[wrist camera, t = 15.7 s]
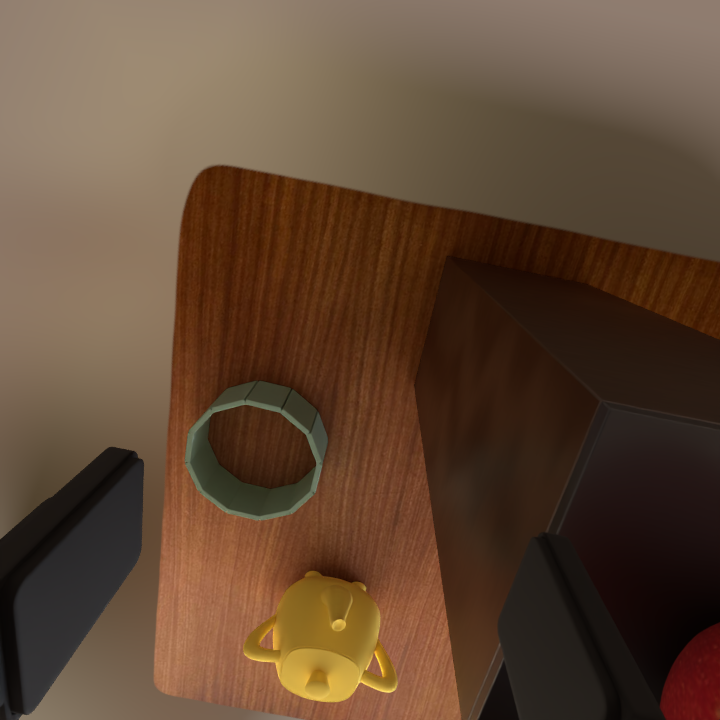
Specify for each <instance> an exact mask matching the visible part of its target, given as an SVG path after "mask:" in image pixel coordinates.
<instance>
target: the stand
mask: <svg viewBox="0 0 720 720" xmlns="http://www.w3.org/2000/svg"><path fill="white" fill-rule="evenodd" d="M414 388H415V395H416V402H417V409H418V416H419V423H420V430H421V437H422V444H423V451H424V458H425V465H426V472H427V479H428V486H429V493H430V500H431V507H432V514H433V521H434V528H435V535H436V542H437V549H438V556H439V563H440V571H441V578H442V585H443V592H444V599H445V606H446V613H447V620H448V627H449V634H450V641H451V648H452V655H453V662H454V669H455V676H456V683H457V690H458V697H459V704H460V711H461V718H462V720H519V716H518V712H517V708H516V704H515V700H514V696H513V692H512V688H511V684H510V680H509V676H508V672H507V669H506V665H505V661H504V657H503V653H502V649H501V645H500V641H499V637H498V630H497V625H498V619H499V616H500V613H501V611H502V608H503V606H504V603H505V601H506V598H507V596H508V593H509V591H510V588H511V586H512V583H513V581H514V578H515V576H516V573H517V571H518V568H519V566H520V563H521V561H522V558H523V556H524V553H525V551H526V548H527V546H528V544H529V541H530V539H531V538H532V537H538V535H539V534H540V533H541V532H546V533H551V534H556V535H561V536H566V537H568V538H569V540H570V541H571V543H572V545H573V546H574V548H575V550H576V552H577V554H578V556H579V558H580V560H581V561H582V563H583V565H584V567H585V569H586V571H587V573H588V574H589V576H590V578H591V580H592V582H593V584H594V586H595V587H596V589H597V591H598V593H599V595H600V597H601V599H602V601H603V602H604V604H605V606H606V608H607V610H608V612H609V614H610V615H611V617H612V619H613V621H614V623H615V625H616V627H617V629H618V630H619V632H620V634H621V636H622V638H623V640H624V642H625V643H626V645H627V647H628V649H629V651H630V653H631V655H632V656H633V658H634V660H635V662H636V664H637V666H638V668H639V670H640V671H641V673H642V675H643V677H644V679H645V681H646V683H647V684H648V686H649V688H650V690H651V692H652V694H653V696H654V697H655V699H656V701H657V703H658V705H659V707H660V702H661V696H662V691H663V688H664V685H665V682H666V679H667V676H668V674H669V672H670V669H671V667H672V665H673V663H674V662H675V660H676V658H677V657H678V655H679V654H680V653H681V651H682V650H683V649H684V648H685V646H686V645H687V644H688V643H689V642H690V641H691V640H692V639H693V638H694V637H695V636H696V635H697V634H698V633H700V632H701V631H703V630H704V629H706V628H708V627H710V626H712V625H715V624H717V623H719V622H720V340H718V339H716V338H714V337H711V336H709V335H707V334H704V333H702V332H699V331H697V330H695V329H692V328H690V327H688V326H685V325H683V324H680V323H678V322H676V321H673V320H671V319H669V318H666V317H664V316H661V315H659V314H657V313H654V312H652V311H650V310H647V309H645V308H642V307H640V306H638V305H635V304H633V303H631V302H628V301H626V300H624V299H621V298H619V297H616V296H614V295H612V294H609V293H607V292H605V291H602V290H600V289H597V288H595V287H593V286H590V285H588V284H584V283H579V282H574V281H569V280H564V279H559V278H554V277H549V276H544V275H540V274H535V273H530V272H525V271H520V270H515V269H510V268H505V267H500V266H495V265H490V264H485V263H480V262H476V261H471V260H466V259H461V258H456V257H451V256H447V258H446V262H445V266H444V270H443V274H442V277H441V281H440V285H439V289H438V293H437V297H436V301H435V305H434V309H433V313H432V317H431V321H430V325H429V329H428V333H427V337H426V341H425V344H424V348H423V352H422V356H421V360H420V364H419V368H418V372H417V376H416V380H415V384H414Z"/></svg>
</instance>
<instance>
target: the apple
mask: <svg viewBox="0 0 720 720" xmlns="http://www.w3.org/2000/svg"><path fill="white" fill-rule="evenodd" d="M660 709H661V711H662V712H663V714H664V716H665V718H666V720H720V622H719V623H717V624H715V625H712V626H710V627H708V628H706V629H704V630H703V631H701V632H700V633H698V634H697V635H696V636H695V637H694V638H693V639H692V640H691V641H690V642H689V643H688V644H687V645H686V646H685V648H684V649H683V650H682V651H681V653H680V654H679V655H678V657H677V658H676V660H675V662H674V663H673V665H672V667H671V669H670V672H669V674H668V676H667V679H666V682H665V685H664V688H663V691H662V696H661V702H660Z"/></svg>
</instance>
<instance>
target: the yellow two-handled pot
mask: <svg viewBox="0 0 720 720" xmlns="http://www.w3.org/2000/svg"><path fill="white" fill-rule="evenodd" d="M273 627H274V629H273V649H266V648H263V647H261V646H260V642H261V641H262V639H263V638H264V636H265V635H266V634H267V633H268V632H269V631H270V630H271V629H272V628H273ZM379 628H380V612H379V609H378V606H377V604H376V603H375V601H374V600H373V599H372V597H371V596H370V595H369V594H368V593H367V592H366V587H365V585H364V584H363V583H361V582H352V583H350V582H347V581H345V580H342V579H338V578H333V577H323V576H322V575H321V574H320V573H319V572H317V571H309V572H307V573H306V574H305V578H303V579H301V580H299V581H297V582H295V583H294V584H293V585H291V586H290V587H289V588H288V589H287V590H286V591H285V593H284V594H283V596H282V598H281V600H280V602H279V604H278V607H277V610H276V614H275V615H274V616H272V617H271V618H269V619H268V620H266V621H265V622H264V623H262V624H261V625H260V626H258V627H257V628H256V629H255V630H254V631H253V632H252V633H251V634H250V635H249V636H248V638H247V639H246V641H245V643H244V646H243V652H244V654H245V655H246V656H247V657H248V658H250V659H253V660H257V661H263V662H275V664H276V668H277V672H278V676H279V678H280V681H281V683H282V685H283V686H284V687H285V688H286V689H287V690H289V691H290V692H292V693H294V694H296V695H299V696H301V697H304V698H307V699H311V700H315V701H322V702H339V701H343V700H345V699H347V698H349V697H350V696H351V695H352V693H353V692H354V691H355V689H356V687H357V686H358V684H359V682H362V683H364V684H366V685H368V686H370V687H372V688H374V689H376V690H379V691H382V692H392V691H394V690H395V689H396V687H397V684H398V681H397V674H396V671H395V668H394V666H393V663H392V662H391V660H390V658H389V656H388V654H387V652H386V651H385V649H384V647H383V646H382V644H381V643H380V641H379V639H378V634H379ZM374 653H375V655H376V657H377V659H378V662H379V664H380V667H381V670H382V675H383V677H381V676H377V675H375V674H373V673H371V672H369V671H367V668H368V666H369V664H370V662H371V659H372V657H373V654H374Z"/></svg>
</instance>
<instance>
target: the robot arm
mask: <svg viewBox="0 0 720 720" xmlns="http://www.w3.org/2000/svg"><path fill="white" fill-rule="evenodd" d="M143 476H144V462H143V460H142V459H139V458H138V455H137V453H136V452H135V451H131V450H126V449H120V448H116V447H109V448H107V449H106V450H105V451H104V452H102V453H101V454H100V455H99V456H98V457H97V458H96V459H95V460H93V461H92V462H91V463H90V464H89V465H88V466H87V467H85V468H84V469H83V470H82V471H81V472H80V473H79V474H78V475H76V476H75V477H74V478H73V479H72V480H71V481H70V482H69V483H67V484H66V485H65V486H64V487H63V488H62V489H61V490H59V491H58V492H57V493H56V494H55V495H54V496H53V497H51V498H48V499H47V500H45V501H44V502H43V503H41V504H40V505H39V506H38V507H37V508H36V509H34V510H33V511H32V512H31V513H30V514H29V515H28V516H26V517H25V518H24V519H23V520H22V521H21V522H20V523H19V524H17V525H16V526H15V527H14V528H13V529H12V530H11V531H9V532H8V533H7V534H6V535H5V536H4V537H3V538H1V539H0V720H19V718H20V717H21V715H22V714H24V715H29V714H30V713H31V712H33V711H34V710H35V708H36V707H37V706H38V704H39V703H40V702H41V700H42V699H43V697H44V696H45V694H46V693H47V691H48V690H49V689H50V687H51V686H52V684H53V683H54V681H55V680H56V678H57V677H58V675H59V674H60V673H61V671H62V670H63V668H64V667H65V665H66V664H67V663H68V661H69V660H70V658H71V657H72V655H73V654H74V652H75V651H76V649H77V648H78V647H79V645H80V644H81V642H82V641H83V639H84V638H85V637H86V635H87V634H88V632H89V631H90V629H91V628H92V626H93V625H94V624H95V622H96V620H97V619H98V618H99V616H100V615H101V613H102V612H103V611H104V609H105V607H106V606H107V605H108V603H109V602H110V600H111V599H112V598H113V596H114V595H115V593H116V592H117V590H118V589H119V587H120V586H121V585H122V583H123V582H124V580H125V579H126V577H127V576H128V574H129V573H130V572H131V570H132V569H133V567H134V566H135V564H136V563H137V561H138V558H139V556H140V552H141V546H142V512H143ZM497 630H498V637H499V641H500V645H501V649H502V653H503V657H504V661H505V665H506V669H507V672H508V676H509V680H510V684H511V688H512V692H513V696H514V700H515V704H516V708H517V712H518V716H519V720H666V718H665V716H664V714H663V712H662V711H661V709H660V707H659V705H658V703H657V701H656V699H655V697H654V696H653V694H652V692H651V690H650V688H649V686H648V684H647V683H646V681H645V679H644V677H643V675H642V673H641V671H640V670H639V668H638V666H637V664H636V662H635V660H634V658H633V656H632V655H631V653H630V651H629V649H628V647H627V645H626V643H625V642H624V640H623V638H622V636H621V634H620V632H619V630H618V629H617V627H616V625H615V623H614V621H613V619H612V617H611V615H610V614H609V612H608V610H607V608H606V606H605V604H604V602H603V601H602V599H601V597H600V595H599V593H598V591H597V589H596V587H595V586H594V584H593V582H592V580H591V578H590V576H589V574H588V573H587V571H586V569H585V567H584V565H583V563H582V561H581V560H580V558H579V556H578V554H577V552H576V550H575V548H574V546H573V545H572V543H571V541H570V540H569V538H568V537H566V536H561V535H556V534H551V533H546V532H541V533H540V534H539V535H538V537H532V538H531V539H530V541H529V544H528V546H527V548H526V551H525V553H524V556H523V558H522V561H521V563H520V566H519V568H518V571H517V573H516V576H515V578H514V581H513V583H512V586H511V588H510V591H509V593H508V596H507V598H506V601H505V603H504V606H503V608H502V611H501V613H500V616H499V619H498V625H497Z"/></svg>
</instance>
